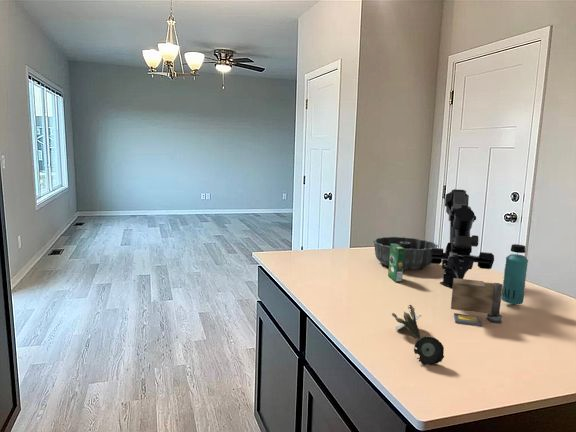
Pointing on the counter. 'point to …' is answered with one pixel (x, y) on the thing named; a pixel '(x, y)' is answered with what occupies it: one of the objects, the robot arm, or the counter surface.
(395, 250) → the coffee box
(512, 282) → the beverage bottle
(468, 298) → the brown wooden block
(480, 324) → the label plaque
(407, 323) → the artificial flower
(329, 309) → the counter surface
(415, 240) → the bundt pan
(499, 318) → the pivot foot
